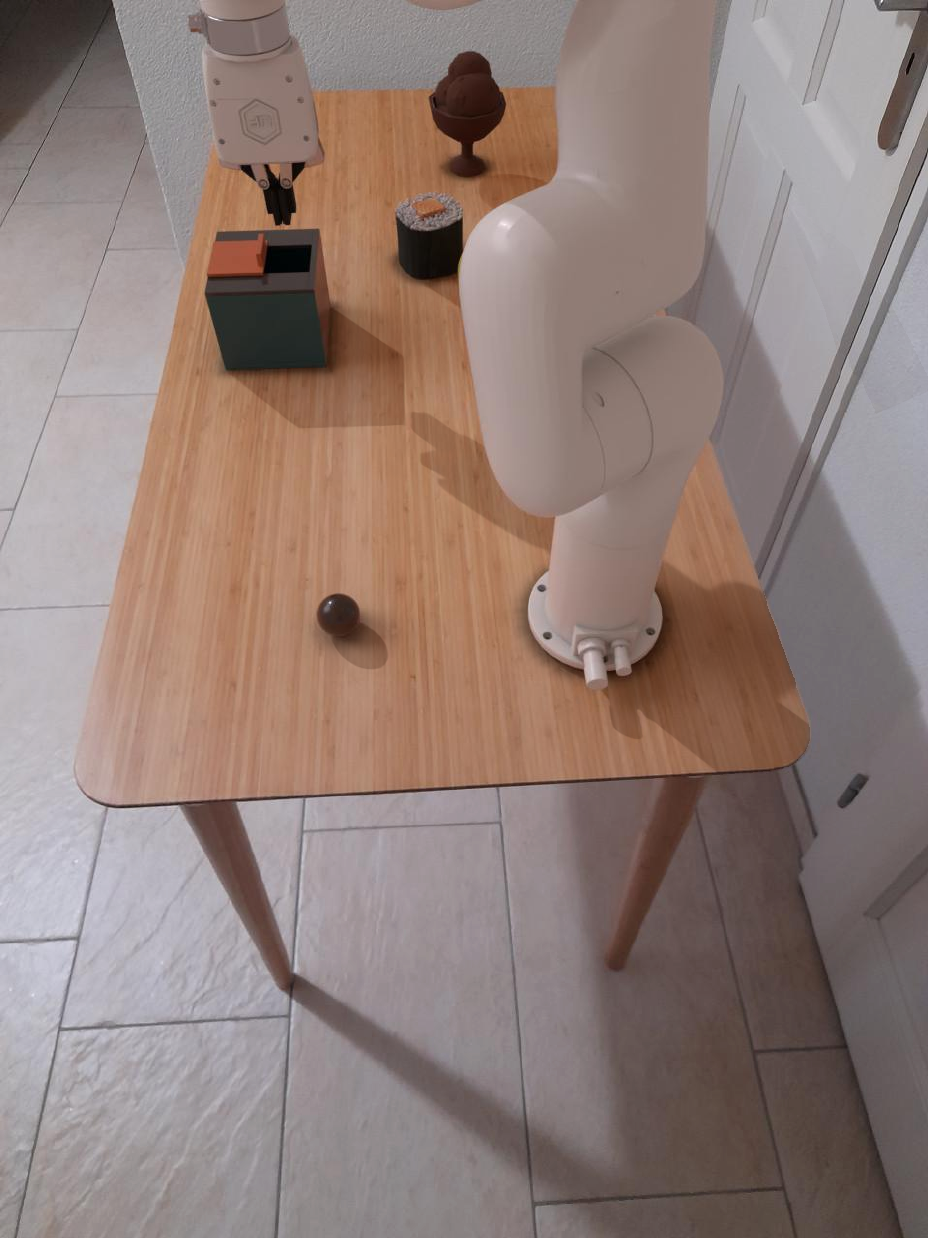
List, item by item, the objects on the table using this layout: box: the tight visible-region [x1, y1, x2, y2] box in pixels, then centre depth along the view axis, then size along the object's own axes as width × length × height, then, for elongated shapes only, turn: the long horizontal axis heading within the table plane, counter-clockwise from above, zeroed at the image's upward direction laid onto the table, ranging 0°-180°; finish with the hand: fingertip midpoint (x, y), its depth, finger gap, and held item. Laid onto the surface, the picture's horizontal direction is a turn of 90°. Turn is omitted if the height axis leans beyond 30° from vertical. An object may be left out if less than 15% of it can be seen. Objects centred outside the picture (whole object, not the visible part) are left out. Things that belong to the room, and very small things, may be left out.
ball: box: [316, 592, 361, 637], centre depth 82 cm, size 4×4×4 cm
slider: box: [206, 234, 268, 277], centre depth 99 cm, size 6×6×2 cm
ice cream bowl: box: [428, 50, 507, 178], centre depth 125 cm, size 11×11×15 cm
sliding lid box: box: [203, 228, 332, 371], centre depth 104 cm, size 12×12×10 cm
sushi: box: [393, 191, 464, 281], centre depth 114 cm, size 8×8×8 cm
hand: (283, 218), depth 96 cm, fingers closed
